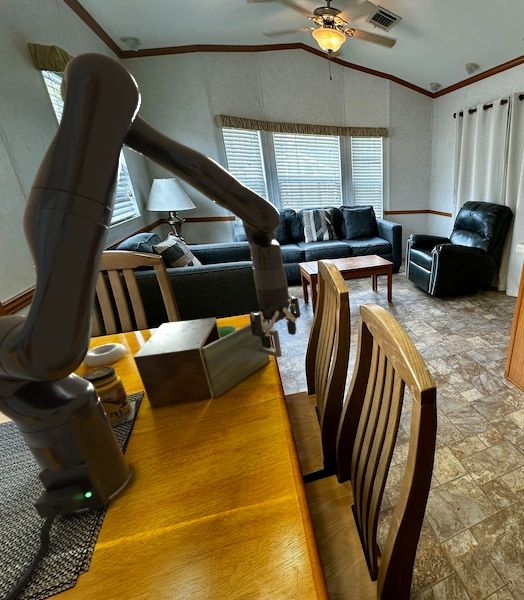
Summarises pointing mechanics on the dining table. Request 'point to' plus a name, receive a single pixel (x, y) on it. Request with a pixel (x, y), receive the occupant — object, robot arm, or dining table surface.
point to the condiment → (111, 394)
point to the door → (237, 357)
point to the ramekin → (226, 330)
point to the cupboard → (177, 362)
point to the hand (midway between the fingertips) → (280, 340)
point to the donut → (104, 354)
